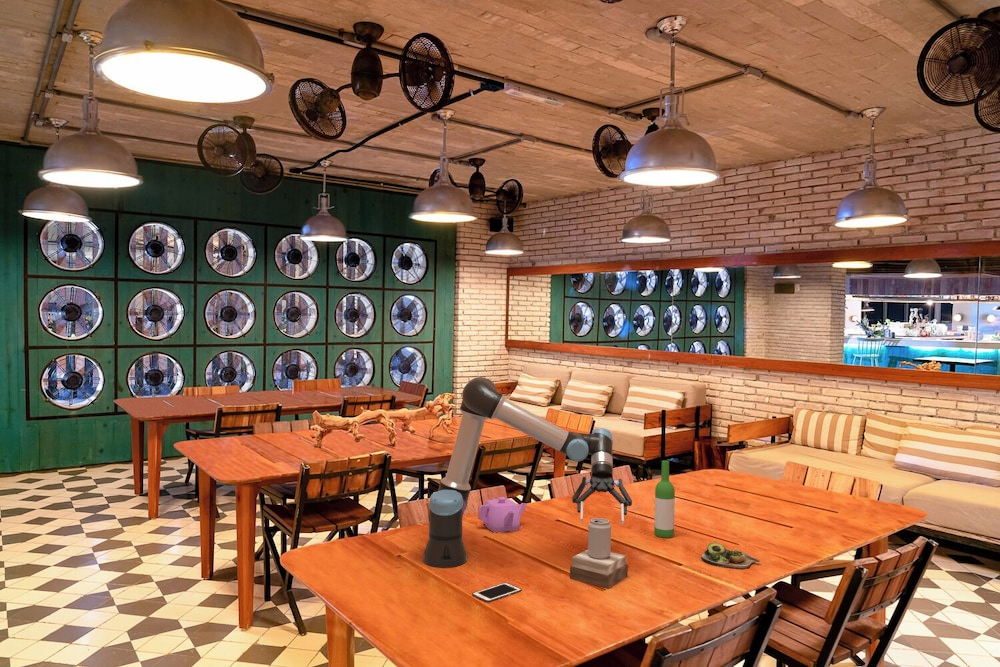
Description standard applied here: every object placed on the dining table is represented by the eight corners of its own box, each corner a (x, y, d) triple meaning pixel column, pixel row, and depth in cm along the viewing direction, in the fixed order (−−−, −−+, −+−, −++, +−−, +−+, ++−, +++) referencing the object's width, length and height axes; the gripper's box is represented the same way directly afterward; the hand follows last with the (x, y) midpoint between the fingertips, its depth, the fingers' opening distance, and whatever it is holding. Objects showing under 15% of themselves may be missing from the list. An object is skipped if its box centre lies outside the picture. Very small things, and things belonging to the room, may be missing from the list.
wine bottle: (672, 533, 275) (673, 459, 275) (675, 539, 268) (676, 463, 268) (652, 532, 276) (654, 458, 276) (655, 538, 268) (656, 462, 268)
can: (595, 550, 230) (595, 515, 230) (614, 556, 225) (615, 519, 225) (583, 556, 224) (584, 520, 224) (603, 561, 219) (603, 524, 219)
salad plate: (763, 559, 246) (764, 546, 246) (755, 574, 231) (755, 560, 231) (709, 550, 256) (709, 537, 256) (697, 563, 241) (698, 550, 240)
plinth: (607, 588, 214) (608, 566, 214) (569, 578, 223) (570, 557, 223) (627, 576, 226) (628, 555, 226) (590, 567, 234) (591, 546, 234)
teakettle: (491, 519, 290) (491, 491, 290) (528, 525, 284) (528, 495, 284) (473, 530, 275) (474, 500, 275) (512, 536, 268) (513, 505, 268)
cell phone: (470, 596, 207) (470, 593, 207) (506, 585, 217) (506, 581, 217) (487, 604, 202) (487, 601, 202) (522, 592, 212) (523, 589, 211)
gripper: (636, 475, 243) (639, 529, 228) (566, 472, 246) (564, 525, 231) (638, 463, 238) (640, 518, 223) (566, 460, 241) (564, 513, 226)
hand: (601, 521), depth 227 cm, fingers open, 13 cm apart
